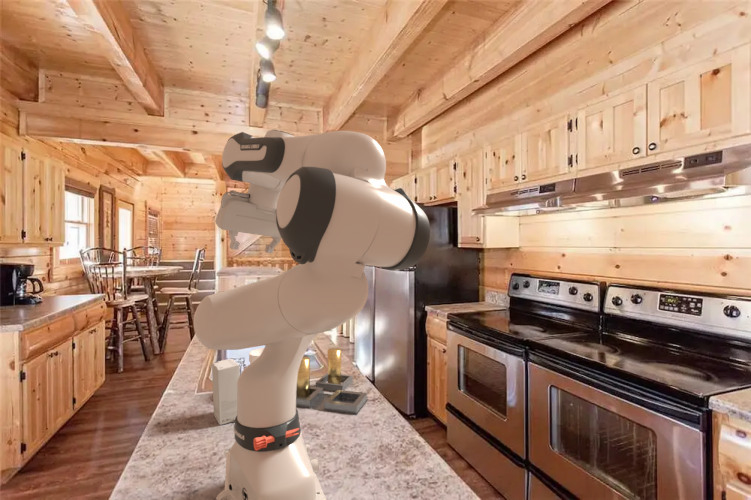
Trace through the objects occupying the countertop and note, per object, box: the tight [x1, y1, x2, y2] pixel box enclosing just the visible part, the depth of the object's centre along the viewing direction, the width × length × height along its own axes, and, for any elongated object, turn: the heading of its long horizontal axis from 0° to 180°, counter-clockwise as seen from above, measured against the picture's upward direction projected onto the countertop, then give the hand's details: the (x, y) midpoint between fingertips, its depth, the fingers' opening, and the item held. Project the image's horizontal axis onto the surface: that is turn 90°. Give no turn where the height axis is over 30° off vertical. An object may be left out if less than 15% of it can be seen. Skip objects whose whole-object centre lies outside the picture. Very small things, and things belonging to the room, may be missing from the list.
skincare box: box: [211, 358, 241, 426], centre depth 103 cm, size 8×6×15 cm
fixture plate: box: [296, 385, 369, 416], centre depth 111 cm, size 24×11×3 cm, turn 74°
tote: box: [315, 372, 354, 392], centre depth 123 cm, size 9×9×3 cm
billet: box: [327, 347, 342, 385], centre depth 123 cm, size 4×4×12 cm
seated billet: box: [296, 356, 311, 398], centre depth 112 cm, size 4×4×12 cm
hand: (251, 250), depth 95 cm, fingers open, 8 cm apart
